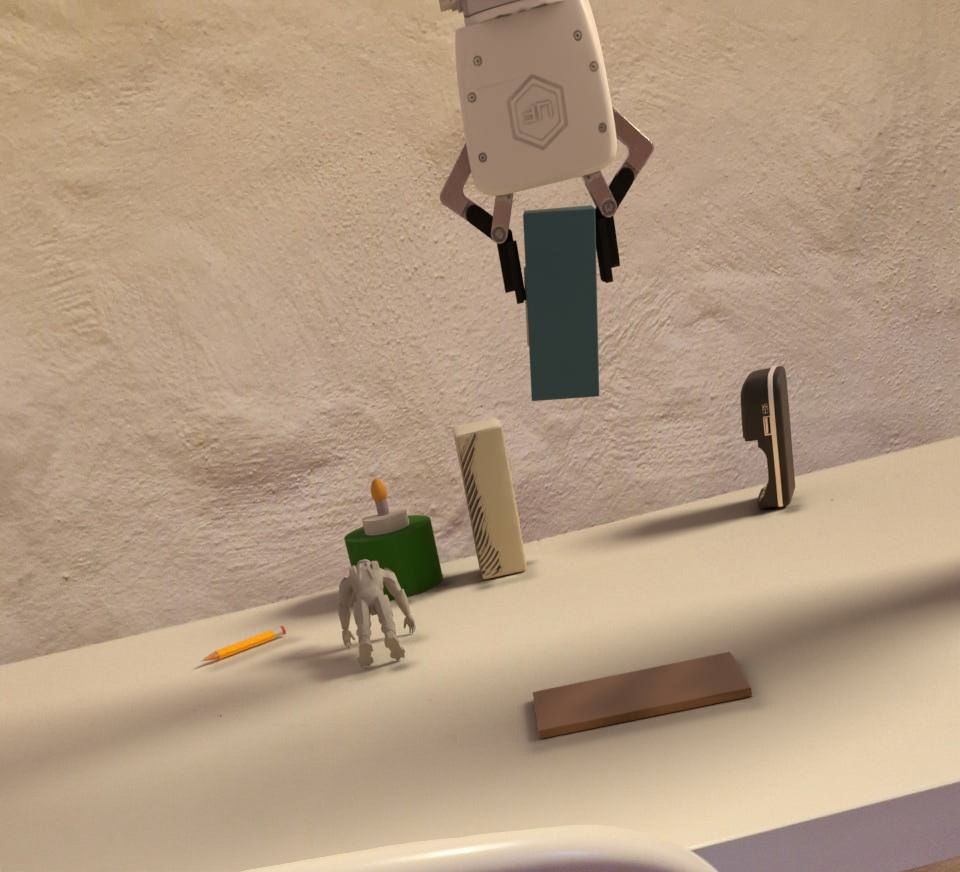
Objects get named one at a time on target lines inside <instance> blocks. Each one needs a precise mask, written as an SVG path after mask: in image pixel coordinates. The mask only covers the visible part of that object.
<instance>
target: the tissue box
mask: <svg viewBox="0 0 960 872" xmlns="http://www.w3.org/2000/svg"><path fill="white" fill-rule="evenodd" d="M595 208H596V207H594V206H593V205H592V204H590V205H577V206H576V205H575V206H565V207H564V206H563V207H552V208H551V207H550V208H540V209H527V210H526V209H525V210H524V211H523V214H522V223H523V242H524V243H523V245H524V264H525V265H524V267H523V282H524V288H525V294H526V300H525V301H524V303H525V325H526V326H525V327H526V344H527V345H526V346H527V347H528V348H529V351H528V352H529V353H528V354H529V371H530V372H529V373H530V393H531V401H532V402H540V401H542V402H543V401H551V400H552V401H555V400H567V399H569V400H570V399H582V398H583V399H584V398H595V397H596V398H597V397H600V368H599V367H600V365H599V322H598V320H599V319H598V317H599V316H598V279H597V278H598V274H597V271H598V270H597V251H596V227H595Z"/></svg>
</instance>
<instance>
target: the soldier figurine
mask: <svg viewBox="0 0 960 872" xmlns="http://www.w3.org/2000/svg"><path fill="white" fill-rule="evenodd" d="M348 574H349V575H348V576H347V577H345V576H344V577H343V578H342V579H341V581H340V583H339V586H338V591H339V592H338V593H339V603H338V604H337V610H338V611H337V612H338V619H339V621H340V626H341V630H342V631H341V635H342V636H341V637H342V641H343V642H342V643H343V645H344V646H345V648H347V649H351V648H353V645H352V643H351V642H352V641H351V640H353V641H356V638H355V636H354V634H353V633H352V631H351V630H349V629H350V622H351V615H352V614H353V618H354V619H353V620H354V622H355V623H354V624H355V625H356V628H357V629H356V633H355V634H356V636H357V638H358V639H357V640H358V644H359V645H358V657H357V664H359V665H360V667H361V668H362V669H363V668H364V667H367V668H370V667H371V665H372V664H373V663H374V662H375V661H374V658H373V657H372V652H374V649H373V648H374V647H373V643H372V642H371V636H372V630H371V627H372V621H371V617H373V616H377V617H378V619H377V620H378V623H379V624H380V625H381V626H380V631H381V632H382V633H383V635H384V638H383V643H384V646H385V648H386V649H389V651H390V654H389V657H390V658H391V659H395V660H396V661H400V659H404V658H405V656H406V654H405V653H406V650H405V648H404V646H402V645H401V643H400V640H399V637H397V632H396V631H397V630H396V622H395V621H394V612H393V607H392V604H391V600H389V598H388V596H387V595H384V593H383V588H384V586H383V584H385V586H386V587H387V589H388V591H389V592H390V593H391V594H392V595H393V597H394V598H395V599H394V601H395V604H396V606H397V607H398V608H399V609H400V611H401V613H402V615H404V616H405V617H404V620H403V629H404V630H405V629H406V628H407V626H408V630H409V631H408V633H409V634H414V633H416V628H417V627H416V621H415V619H414V617H413V614H412V612H411V608H410V604H409V599H408V596H406V594H405V592H404V590H403V589H401V587H400V585H399V583H398V581H397V578H396V576H395V574H394V573H393V572H392V571H391V570H390V569H388V568H385V569H381V568H379V564H378V562H377V561H372V562H370V561H369V560H367V559H364V560H360V561H359V562H358V563H357V566H356V567H355V565H353V566H351V565H350V566H349V568H348ZM353 596H355V599H356V601H353ZM352 604H353V605H352ZM351 606H352V607H353V608H352V610H353V613H352V614H351Z"/></svg>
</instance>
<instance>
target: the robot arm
mask: <svg viewBox="0 0 960 872" xmlns="http://www.w3.org/2000/svg"><path fill="white" fill-rule="evenodd" d="M438 4H439V9H440V12H441V13H443V12H447V11H450V10H451V12H453V13H454V12H457V11H458V15H459V14H463V22H464V26H463V27H460V28H458V29H456V30H454V31H455V32H454V33H455V35H454V37H455V38H454V41H455V42H454V47H455V69H456V79H457V88H458V97H459V104H460V110H461V111H460V112H461V118H462V124H463V125H462V126H463V133H464V140H465V142H464V145H463V147H462V149H461V151H460V153H459V155H458V157H457V159H456V161H455V163H454V165H453V167H452V169H451V171H450V173H449V175H448V177H447V179H446V181H445V183H444V185H443V187H442V189H441V191H440V194H439V202H441V204H442V205H443V206H445V207H446V208H448V209H449V210H450V211H452V212H453V213H454V214H456V215H457V216H459V217H461V218H462V219H463V220H464V221H466V222H468V223H469V224H470V225H472V226H473V227H474V228H476V229H477V230H478V231H480V232H481V233H482V234H483V235H485V236H486V237H487V238H489V239H490V240H491V241H493V242H494V243H495V244H496V248H497V252H498V253H497V254H498V258H499V264H500V270H501V275H502V282H503V288H504V293H505V294H508V293H512V292H514V294H515V301H516V305H520V304H524V303H525V300H526V294H525V284H524V276H523V270H522V266H521V258H520V254H519V248H518V247H519V246H518V241H517V240H514V236H513V230H511V228H510V222H511V216H512V208H513V201H514V194H515V193H518V192H523V191H527V190H531V189H535V188H540V187H544V186H547V185H551V184H552V185H553V184H555V183H560V182H563V181H569V180H572V179H575V178H579V177H580V178H581V180H582V182H583V184H584V185H585V188H586V190H587V192H588V194H589V196H590V197H591V200H592V202H593V204H594V205H595V207H594V208H595V227H596V259H597V264H598V265H597V266H598V271H599V278H600V281H602V282H603V283H605V284H609V283H612V282H614V276H613V268H617V267H620V266H621V260H620V253H619V245H618V238H617V232H616V230H617V229H616V224H615V217H614V215H616V213H617V211H618V209H619V207H620V205H621V204H622V202H623V200H624V199H625V197H626V195H627V193H628V192H629V190H630V189H631V187H632V186H633V183H634V182H635V180H636V179H637V177H638V175H639V174H640V172H641V171H642V169H644V166H645V165H646V164H647V162H648V160H649V159H650V158H651V156H652V155H653V153H654V150H655V149H654V148H655V146H654V142H653V141H652V140H651V139H650V138H648V136H646V135H645V134H644V133H642V131H640V130H639V129H638V128H637V127H636V126H635V125H634V124H633V123H632V122H631V121H629V120H628V119H627V118H626V117H625V116H623V115H622V113H620V112H619V111H618V110H617V109H616V108H614V107H613V102H612V97H611V91H610V86H609V81H608V74H607V71H606V65H605V59H604V53H603V49H602V45H601V40H600V36H599V32H598V28H597V25H596V20H595V17H594V14H593V9H592V7H591V4H590V1H589V0H438ZM618 141H619V142H620V143H621V144H622V145H623V146H624V147H625V148H626V150H627V156H626V158H625V159H624V160H623V163H622V164H621V166H620V167H619V169H618V170H617V171H616V173H615V174H614V176H613V178H612V180H611V181H610V183H609V185H608V183H607V180H606V179H605V177H604V175H603V173H602V170H604V169H605V168H607V167H609V165H611V164H612V163H613V161H614V160H615V159H616V157H617V153H618ZM470 175H471V178H472V181H473V184H474V187H475V188H476V190H478V191H479V192H480V193H482V194H484V195H487V196H492V197H494V203H493V204H494V205H493V211H492V214H491V213H490V212H488V211H486V209H484V208H483V207H481V206H480V205H478V204H477V203H476V202H474V201H473V200H472V199H470V198H469V197H468V196H466V194H465V193H464V188H465V185H466V183H467V182H468V179H469V178H470Z"/></svg>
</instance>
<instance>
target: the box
mask: <svg viewBox="0 0 960 872" xmlns="http://www.w3.org/2000/svg"><path fill="white" fill-rule="evenodd" d="M452 434H453V438H454V444H455V449H456V454H457V459H458V463H459V468H460V474H461V479H462V484H463V490H464V495H465V499H466V506H467V511H468V515H469V520H470V521H469V522H470V526H471V530H472V537H473V542H474V547H475V553H476V558H477V563H478V568H479V572H480V575H481V578H482V580H489V579H495V578H499V577H504V576H508V575H513V574H518V573H522V572H525V571H527V570H528V565H527V560H526V553H525V548H524V542H523V536H522V530H521V524H520V517H519V512H518V505H517V500H516V495H515V489H514V483H513V477H512V472H511V466H510V460H509V453H508V448H507V443H506V437H505V432H504V427H503V424H502V422H501V420H500V419H499V417H496V416H495V417H490V418H484V419H481V420H477V421H473V422H469V423H468V422H467V423H463V424H459V425H455V426H453V427H452Z"/></svg>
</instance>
